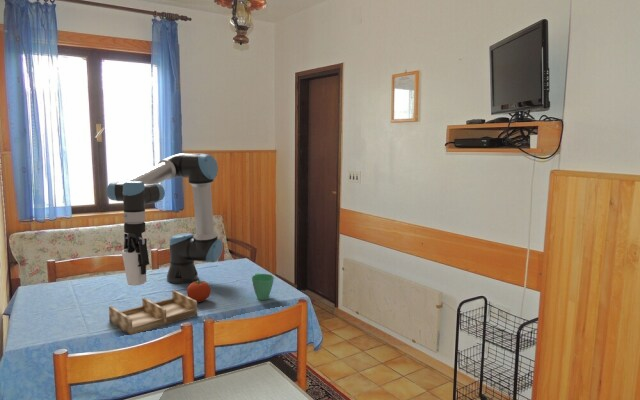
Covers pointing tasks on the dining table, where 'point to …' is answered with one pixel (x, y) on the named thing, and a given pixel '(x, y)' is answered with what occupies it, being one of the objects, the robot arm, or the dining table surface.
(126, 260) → the foam cup
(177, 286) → the dining table surface
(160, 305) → the rack
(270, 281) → the mug
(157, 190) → the robot arm
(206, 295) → the tomato
